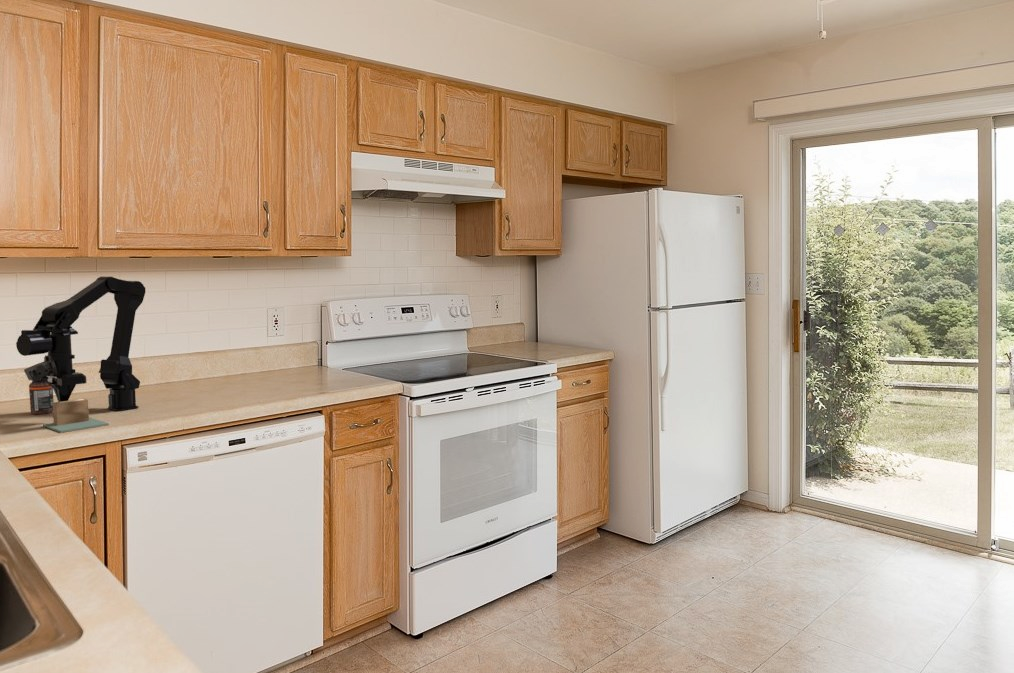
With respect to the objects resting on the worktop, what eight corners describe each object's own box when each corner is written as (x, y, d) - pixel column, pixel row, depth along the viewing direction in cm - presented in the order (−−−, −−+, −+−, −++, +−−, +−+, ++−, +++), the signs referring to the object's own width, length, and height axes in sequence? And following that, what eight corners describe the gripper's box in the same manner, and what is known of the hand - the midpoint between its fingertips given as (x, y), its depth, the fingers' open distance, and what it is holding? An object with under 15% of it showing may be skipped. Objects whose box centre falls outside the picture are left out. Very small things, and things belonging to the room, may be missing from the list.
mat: (89, 419, 209) (89, 417, 209) (108, 424, 202) (108, 423, 202) (43, 426, 200) (42, 424, 200) (61, 432, 192) (60, 430, 192)
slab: (85, 419, 206) (84, 398, 205) (88, 420, 204) (87, 399, 204) (53, 424, 200) (52, 402, 199) (57, 425, 198) (56, 403, 198)
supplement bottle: (31, 411, 218) (28, 374, 217) (54, 410, 221) (52, 373, 220) (30, 415, 213) (27, 377, 212) (54, 413, 216) (51, 375, 215)
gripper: (14, 351, 203) (17, 406, 205) (40, 357, 192) (43, 415, 193) (58, 348, 212) (61, 401, 213) (85, 353, 200) (88, 409, 202)
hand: (62, 406), depth 205 cm, fingers closed
